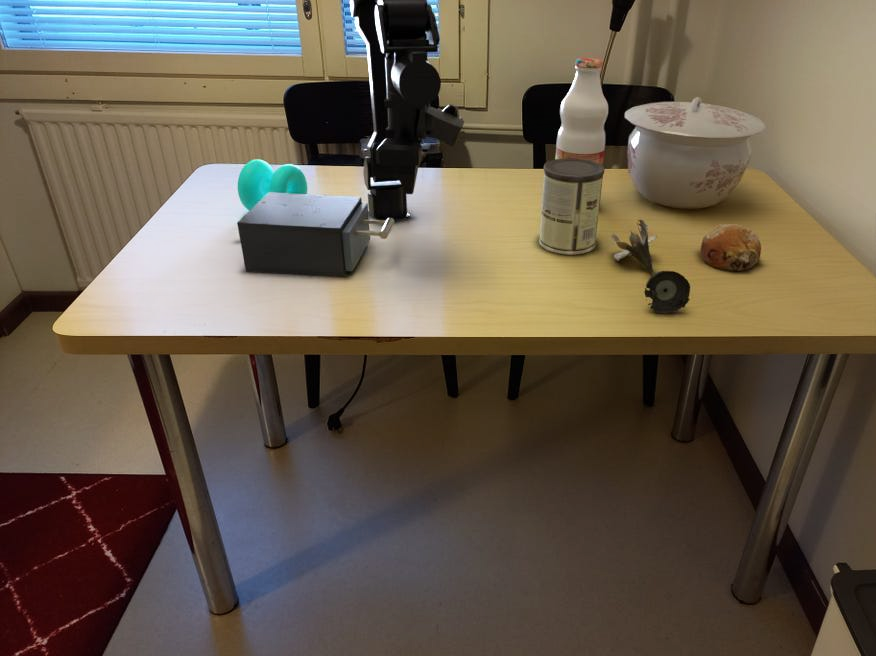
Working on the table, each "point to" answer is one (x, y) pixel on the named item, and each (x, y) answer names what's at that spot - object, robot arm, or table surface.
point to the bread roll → (731, 248)
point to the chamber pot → (688, 151)
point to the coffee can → (570, 205)
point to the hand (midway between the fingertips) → (409, 193)
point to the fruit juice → (583, 115)
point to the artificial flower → (656, 274)
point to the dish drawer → (361, 234)
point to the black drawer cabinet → (296, 234)
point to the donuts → (268, 181)
